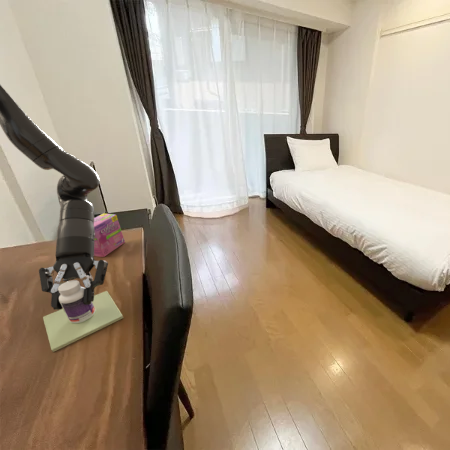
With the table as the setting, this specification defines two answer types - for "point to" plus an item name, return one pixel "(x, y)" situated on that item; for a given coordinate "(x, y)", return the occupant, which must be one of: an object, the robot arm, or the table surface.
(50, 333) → the notepad
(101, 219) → the box
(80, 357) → the table surface
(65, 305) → the pill bottle
